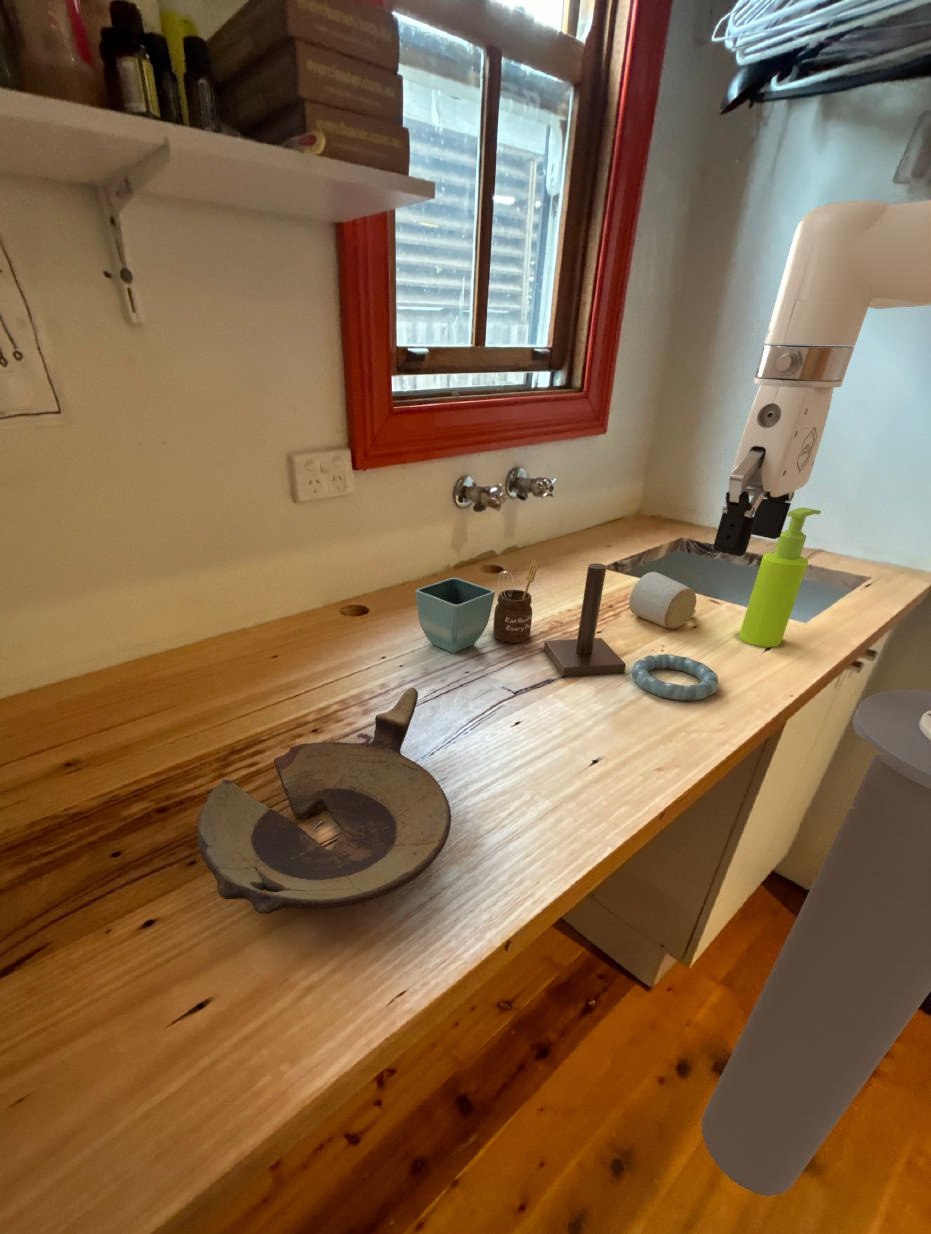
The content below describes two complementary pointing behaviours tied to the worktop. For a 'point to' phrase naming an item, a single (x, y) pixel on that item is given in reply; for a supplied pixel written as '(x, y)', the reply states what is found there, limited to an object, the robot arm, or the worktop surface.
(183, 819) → the worktop surface
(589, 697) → the worktop surface
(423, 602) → the flower pot
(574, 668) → the peg stand
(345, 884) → the oil lamp
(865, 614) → the worktop surface
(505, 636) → the utensil holder
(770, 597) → the soap dispenser
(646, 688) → the ring
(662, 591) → the ceramic mug
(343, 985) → the worktop surface
